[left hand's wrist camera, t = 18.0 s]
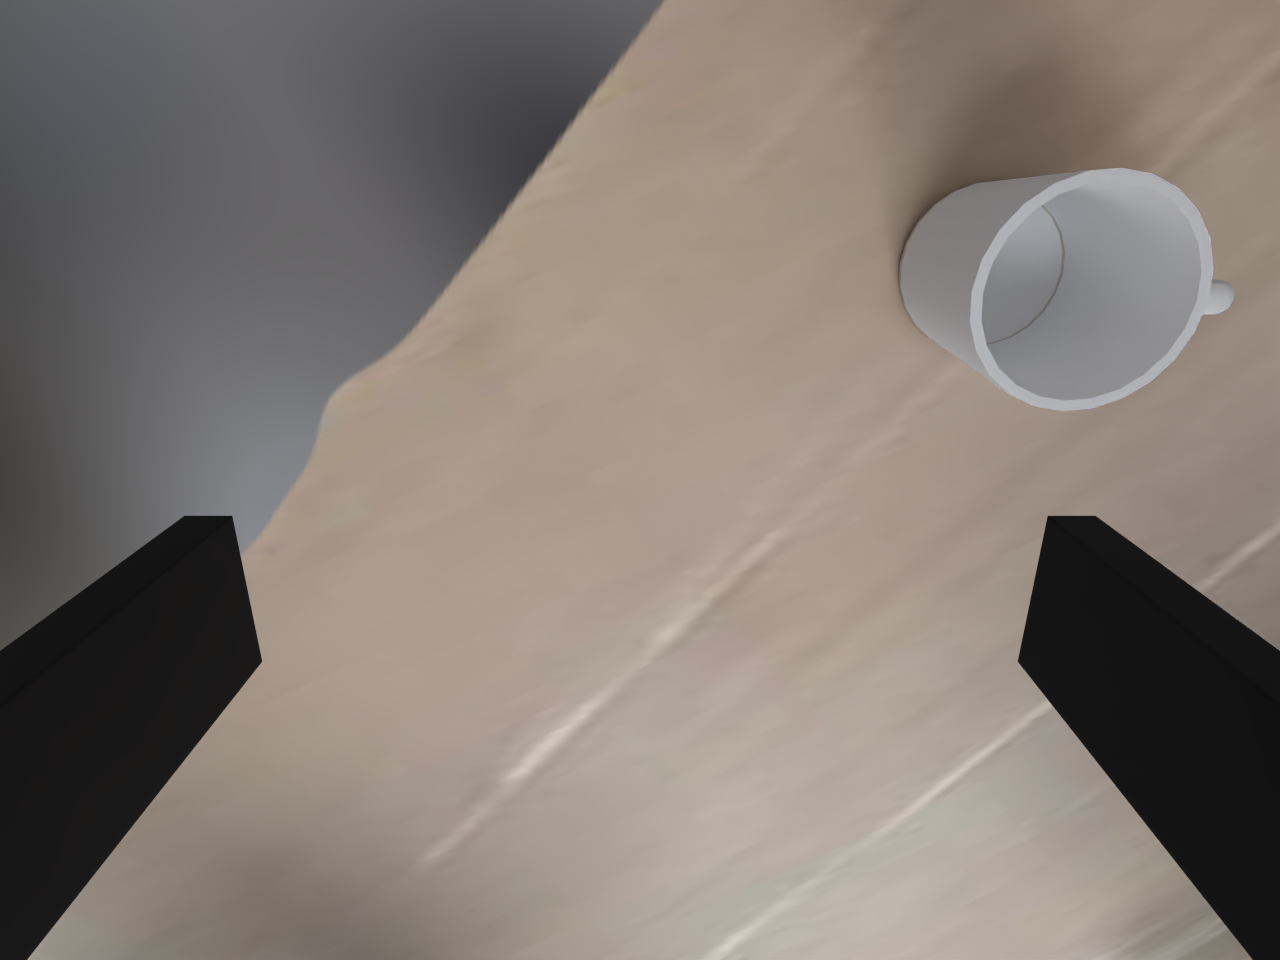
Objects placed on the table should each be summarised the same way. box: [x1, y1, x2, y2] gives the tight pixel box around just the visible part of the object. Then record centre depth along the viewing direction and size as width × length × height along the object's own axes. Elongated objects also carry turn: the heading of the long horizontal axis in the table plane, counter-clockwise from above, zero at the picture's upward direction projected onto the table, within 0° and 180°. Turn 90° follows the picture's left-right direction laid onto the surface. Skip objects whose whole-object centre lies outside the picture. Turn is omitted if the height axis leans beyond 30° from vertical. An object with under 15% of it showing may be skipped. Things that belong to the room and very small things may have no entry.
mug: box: [899, 168, 1234, 411], centre depth 34 cm, size 11×9×10 cm
